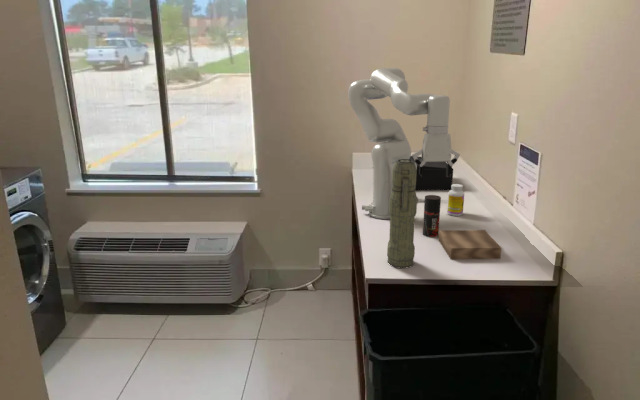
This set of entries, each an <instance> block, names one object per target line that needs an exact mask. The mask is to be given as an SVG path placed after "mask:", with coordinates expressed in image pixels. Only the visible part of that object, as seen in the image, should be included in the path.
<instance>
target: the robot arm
mask: <svg viewBox="0 0 640 400" xmlns="http://www.w3.org/2000/svg"><path fill="white" fill-rule="evenodd" d="M408 89H409V83H408V81H407V80H406V76H405V72H404V71H402V69H400V68H398V67H387V68H386V67H384V68H383V67H382V68H377V69H375V70H374V71H373V72H372V73H371V74H370V78H369V79H360V80H359V79H358V80H355V81H353V82H352V83H350V85H349V87H348V92H347V97H348V102H349V105H350V106H351V108H352V111H353V112H354V114H355V115H356V116H357V118H358V121H359V123H360V125H361V127H362V129H363V130H362V131H363V132H364V134H365V136H366V138H367V140H368V141H369V142H370V143H373V144H374V143H377V144H375V145H374V146H373V147H372V149H371V159H372V161H371V162H372V167H373V168H372V169H373V172H372V173H373V175H372V177H373V178H372V179H373V181H372V184H373V185H372V187H373V188H372V202H371V204H369V205H366V204H365V205H363V204H362V205H361V210H362V211H365V212H368V215H369V216H370V217H371V218H375V219H382V220H388V219H389V220H390V213H389V198H390V195H391V192H392V170H393V167H392V164H395V161H398V160H399V159H409V158H410V157H411V156H413V158H414V160H415V162H416V163H417V164H418V165H419V175H420V176H421V177H424V166H423V165H424V164H425V163H426V162H446V163H447V164H448V165H446V175H447V176H448V177H450V174H451V172H452V168H453V166H454V165H455V163H457V162H458V159H459V158H460V156H461V154H460V153H459V152H457V151H456V150H453V149H452V138H451V134H450V133H449V120H450V119H449V118H450V99H451V98H450V97H449V96H447V95H443V94H440V95H438V94H434V93H416V94H415V93H414V94H410V93H408V91H409V90H408ZM387 97H389V98H390V101H391V104H392V105H393V107H394V108H395V109H396V110H398V111H399V112H401V113H402V114H404V115H406V116H420V115H427V118H426V119H427V120H426V126H423V127H422V131H423V132H426V133H424V137H423V140H422V146H421V147H422V148H421V149H419V150H418V151H416V152H414V153H412V148H411V145H410V143H409V141H408V138H407V137H406V134H405V131H404V130H403V127H402V126H401V124H400V123H399V122H398V121H397V120H396V119H393V118H381V116H380V115H379V112H378V109H377V108H376V107H375V106H374V105H373V103H370V102H369V100H370V101H371V100H380V99H381V100H382V99H385V98H387ZM420 155H421V157H422V159H421V161H419V160H418V158H417V156H418V157H420ZM452 155H454V157H453V158H452Z"/></svg>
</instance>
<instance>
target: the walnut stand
mask: <svg viewBox="0 0 640 400" xmlns="http://www.w3.org/2000/svg"><path fill="white" fill-rule="evenodd" d="M438 242H439V243H440V245H441V247H442V248H443V250H444V252H445V253H446V254H447V256H448V257H449V259H450V260H477V259H478V260H480V259H481V260H486V259H487V260H488V259H489V260H491V259H496V260H497V259H498V260H500V259H501V255H502V247H501V245H499V244H498V242H497V241H496V240H495V239H494V238H493V237H492V236H491V235H490V234H489V232H488V231H486V229H476V230H475V229H467V230H466V229H461V230H460V229H459V230H458V229H452V230H450V229H447V230H446V229H445V230H440V229H439V234H438Z"/></svg>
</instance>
